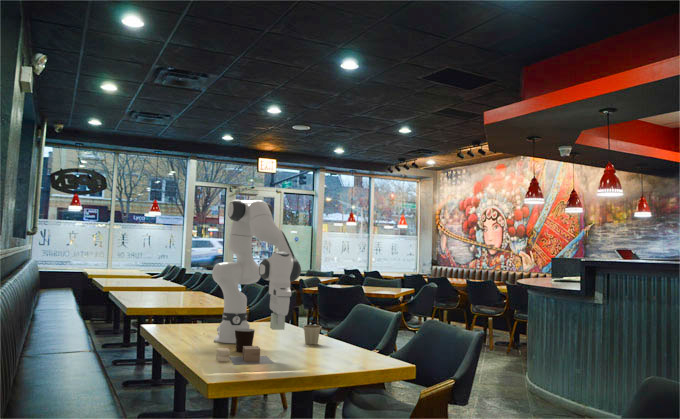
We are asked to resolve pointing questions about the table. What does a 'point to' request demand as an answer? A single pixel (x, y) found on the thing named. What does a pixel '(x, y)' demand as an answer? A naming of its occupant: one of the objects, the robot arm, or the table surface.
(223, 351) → the maple block
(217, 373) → the table surface
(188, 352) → the table surface
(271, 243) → the robot arm
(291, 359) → the table surface
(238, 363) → the plate
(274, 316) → the sage block
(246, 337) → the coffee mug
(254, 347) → the walnut block
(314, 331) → the flower pot
